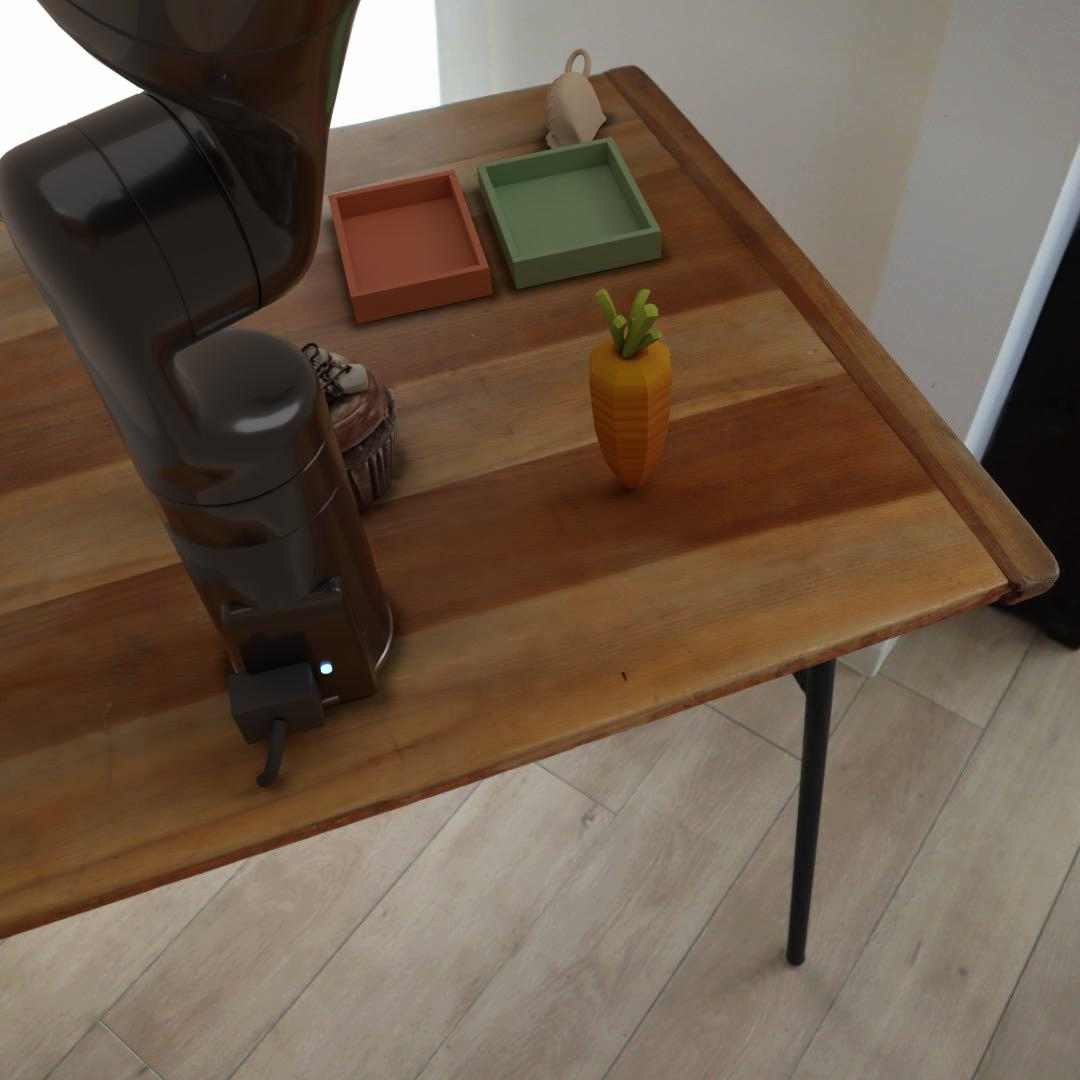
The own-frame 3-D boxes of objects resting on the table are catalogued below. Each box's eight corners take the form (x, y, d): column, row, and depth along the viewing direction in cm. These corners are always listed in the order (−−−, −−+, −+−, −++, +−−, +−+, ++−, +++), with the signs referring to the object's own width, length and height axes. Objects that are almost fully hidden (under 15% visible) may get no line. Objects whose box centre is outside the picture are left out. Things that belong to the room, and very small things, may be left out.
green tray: (661, 258, 88) (661, 230, 86) (516, 289, 87) (513, 262, 85) (612, 163, 97) (611, 136, 95) (479, 191, 96) (476, 164, 94)
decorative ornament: (535, 156, 98) (529, 96, 94) (570, 103, 103) (566, 44, 99) (580, 163, 97) (577, 103, 93) (614, 109, 102) (612, 50, 98)
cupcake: (439, 452, 77) (415, 335, 70) (346, 552, 72) (309, 438, 65) (328, 402, 81) (294, 286, 73) (233, 494, 76) (185, 380, 69)
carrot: (581, 472, 75) (567, 284, 64) (652, 448, 76) (652, 258, 64) (611, 526, 72) (603, 339, 61) (685, 501, 73) (691, 312, 61)
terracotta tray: (492, 294, 87) (489, 267, 85) (357, 324, 86) (350, 297, 84) (458, 195, 95) (454, 169, 94) (334, 221, 94) (327, 195, 93)
